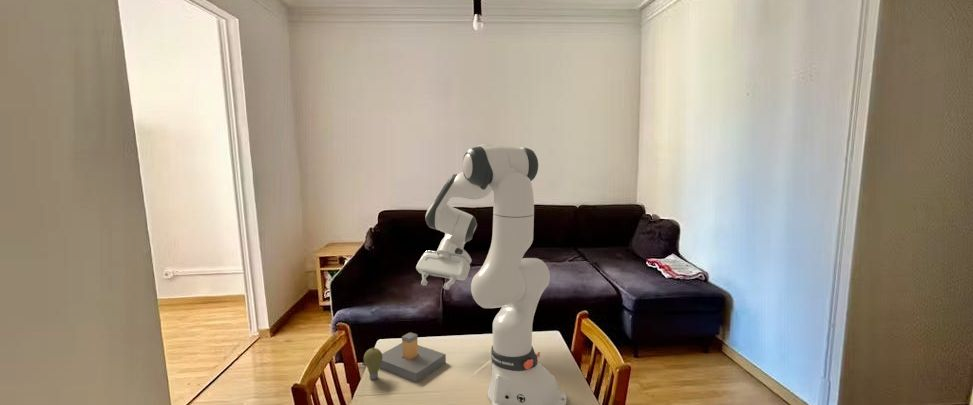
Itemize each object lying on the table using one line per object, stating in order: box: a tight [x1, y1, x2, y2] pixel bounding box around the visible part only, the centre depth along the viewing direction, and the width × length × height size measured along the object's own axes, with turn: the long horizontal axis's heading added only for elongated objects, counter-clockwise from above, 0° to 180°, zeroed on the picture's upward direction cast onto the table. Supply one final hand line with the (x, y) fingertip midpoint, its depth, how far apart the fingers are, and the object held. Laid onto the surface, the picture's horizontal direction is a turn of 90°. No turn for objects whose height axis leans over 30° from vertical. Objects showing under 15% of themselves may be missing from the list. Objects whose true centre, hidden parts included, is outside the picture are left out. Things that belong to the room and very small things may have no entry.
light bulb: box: [363, 347, 383, 381], centre depth 130 cm, size 6×6×10 cm
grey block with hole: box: [379, 342, 447, 384], centre depth 138 cm, size 18×14×4 cm
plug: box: [401, 331, 418, 360], centre depth 138 cm, size 3×4×10 cm
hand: (434, 286), depth 148 cm, fingers open, 8 cm apart
